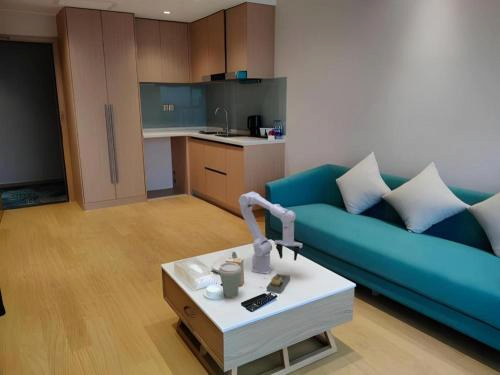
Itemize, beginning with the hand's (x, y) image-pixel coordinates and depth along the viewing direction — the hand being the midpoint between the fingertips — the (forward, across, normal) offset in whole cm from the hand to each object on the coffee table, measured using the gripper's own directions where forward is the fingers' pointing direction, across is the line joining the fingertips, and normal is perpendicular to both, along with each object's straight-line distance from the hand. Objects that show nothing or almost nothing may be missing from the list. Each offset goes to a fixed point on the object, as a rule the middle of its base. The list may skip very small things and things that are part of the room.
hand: (288, 258), depth 202 cm
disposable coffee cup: (+10, -20, -29) cm, 37 cm away
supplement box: (+10, -23, -17) cm, 30 cm away
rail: (+10, -2, -12) cm, 15 cm away
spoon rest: (+10, -36, +1) cm, 38 cm away
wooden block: (+10, -2, -15) cm, 18 cm away
